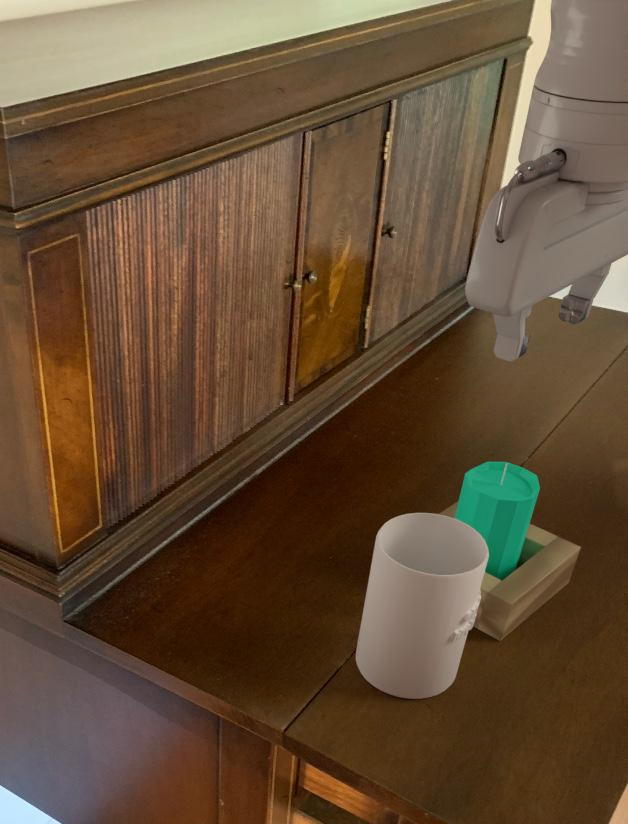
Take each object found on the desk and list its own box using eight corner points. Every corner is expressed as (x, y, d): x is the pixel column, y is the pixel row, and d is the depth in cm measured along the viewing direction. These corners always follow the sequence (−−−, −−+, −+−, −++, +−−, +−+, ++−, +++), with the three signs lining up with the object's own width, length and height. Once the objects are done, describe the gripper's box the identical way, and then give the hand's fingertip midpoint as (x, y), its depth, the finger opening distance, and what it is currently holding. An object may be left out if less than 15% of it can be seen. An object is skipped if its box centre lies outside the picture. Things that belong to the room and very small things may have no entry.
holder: (568, 583, 82) (581, 546, 79) (500, 641, 76) (511, 604, 73) (459, 529, 88) (467, 494, 86) (387, 579, 82) (394, 543, 80)
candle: (493, 557, 85) (525, 442, 77) (521, 597, 80) (558, 480, 73) (431, 562, 84) (457, 448, 76) (456, 604, 80) (487, 486, 72)
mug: (465, 613, 79) (497, 495, 71) (455, 710, 70) (491, 586, 62) (368, 595, 80) (389, 478, 73) (348, 687, 72) (369, 564, 64)
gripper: (558, 179, 53) (505, 396, 62) (704, 120, 64) (642, 312, 73) (464, 158, 57) (427, 367, 66) (617, 106, 68) (568, 291, 76)
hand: (541, 337), depth 69 cm, fingers open, 8 cm apart
